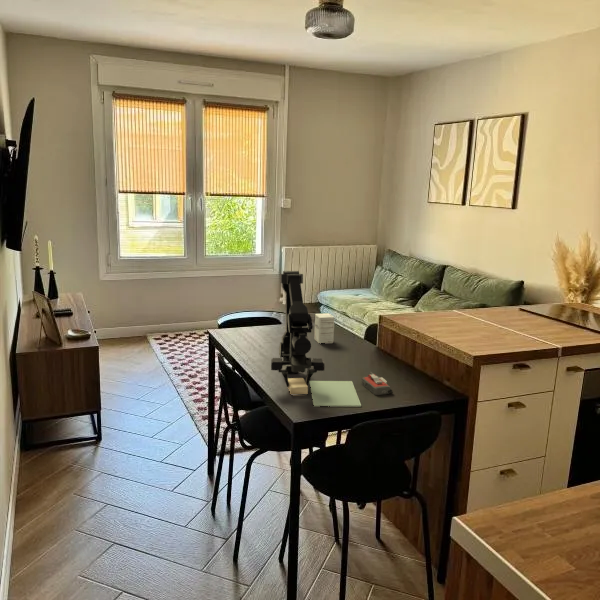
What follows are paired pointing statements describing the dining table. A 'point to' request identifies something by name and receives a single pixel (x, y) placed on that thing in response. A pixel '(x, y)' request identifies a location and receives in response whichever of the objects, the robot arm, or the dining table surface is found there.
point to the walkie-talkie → (376, 384)
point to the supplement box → (324, 328)
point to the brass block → (297, 386)
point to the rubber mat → (334, 394)
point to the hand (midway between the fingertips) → (297, 387)
